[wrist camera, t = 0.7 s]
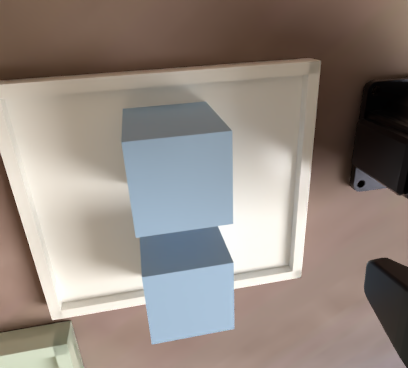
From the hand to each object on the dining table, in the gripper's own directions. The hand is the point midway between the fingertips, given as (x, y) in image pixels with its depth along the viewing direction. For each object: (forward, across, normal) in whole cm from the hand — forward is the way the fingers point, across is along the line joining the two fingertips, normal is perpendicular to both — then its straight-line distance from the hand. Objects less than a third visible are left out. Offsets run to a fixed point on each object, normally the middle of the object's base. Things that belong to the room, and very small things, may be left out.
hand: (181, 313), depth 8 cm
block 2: (+11, 0, +6) cm, 13 cm away
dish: (+12, 0, +3) cm, 12 cm away
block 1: (+11, -1, 0) cm, 11 cm away
